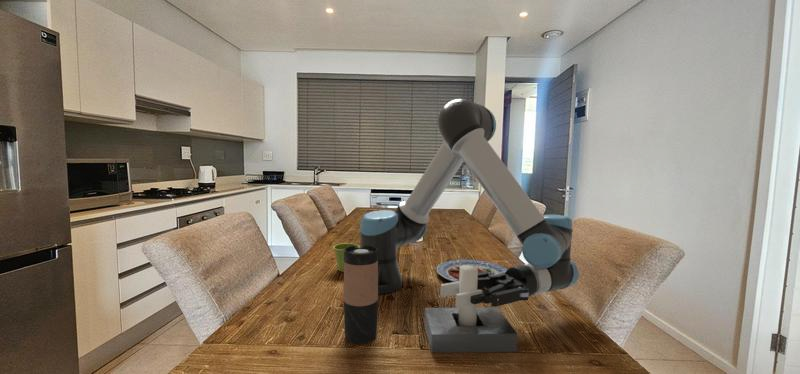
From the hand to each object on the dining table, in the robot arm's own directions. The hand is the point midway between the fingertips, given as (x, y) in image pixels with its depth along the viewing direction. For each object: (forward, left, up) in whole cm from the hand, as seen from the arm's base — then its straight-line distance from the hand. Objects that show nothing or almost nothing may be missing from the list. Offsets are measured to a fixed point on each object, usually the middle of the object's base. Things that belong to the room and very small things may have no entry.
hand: (448, 295), depth 69 cm
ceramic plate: (-7, +43, -11) cm, 45 cm away
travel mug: (-18, -8, -11) cm, 22 cm away
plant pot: (-49, +25, -11) cm, 56 cm away
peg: (+3, +4, -11) cm, 12 cm away
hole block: (+3, +4, -10) cm, 12 cm away
